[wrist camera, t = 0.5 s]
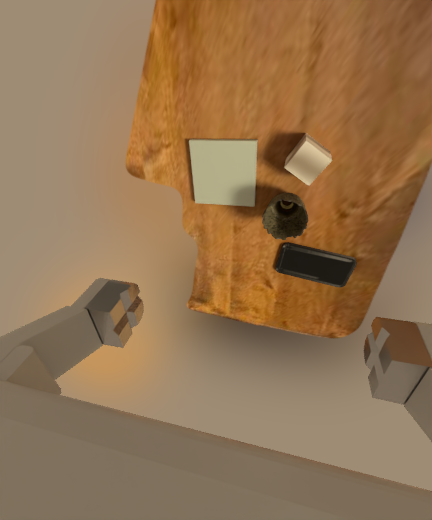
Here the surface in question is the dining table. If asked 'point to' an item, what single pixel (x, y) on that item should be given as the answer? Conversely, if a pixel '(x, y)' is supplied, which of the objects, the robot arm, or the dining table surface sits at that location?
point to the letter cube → (307, 159)
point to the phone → (315, 264)
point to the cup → (285, 216)
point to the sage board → (224, 171)
